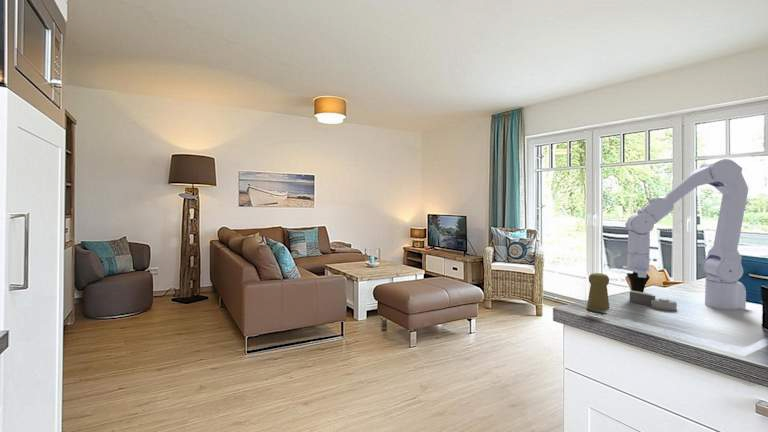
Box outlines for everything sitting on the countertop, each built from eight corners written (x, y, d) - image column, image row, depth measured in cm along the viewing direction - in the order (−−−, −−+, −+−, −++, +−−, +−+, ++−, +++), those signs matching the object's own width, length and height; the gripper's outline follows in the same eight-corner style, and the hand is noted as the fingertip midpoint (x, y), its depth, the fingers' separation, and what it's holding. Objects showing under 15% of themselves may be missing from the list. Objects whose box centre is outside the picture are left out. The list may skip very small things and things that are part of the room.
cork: (613, 314, 110) (614, 275, 110) (590, 313, 111) (591, 275, 111) (605, 309, 116) (606, 272, 116) (583, 307, 117) (584, 271, 117)
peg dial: (680, 309, 111) (681, 297, 111) (670, 312, 108) (670, 299, 108) (636, 300, 121) (636, 289, 121) (625, 302, 119) (625, 291, 118)
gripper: (620, 250, 129) (619, 291, 130) (626, 255, 116) (625, 300, 116) (645, 251, 126) (644, 293, 127) (655, 256, 113) (654, 303, 114)
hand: (637, 296), depth 121 cm, fingers closed
